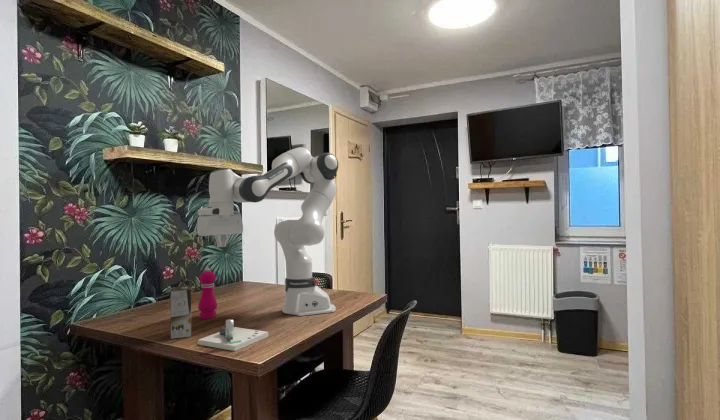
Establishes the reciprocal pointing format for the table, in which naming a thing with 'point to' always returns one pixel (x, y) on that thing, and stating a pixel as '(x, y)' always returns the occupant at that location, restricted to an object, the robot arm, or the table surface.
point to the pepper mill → (207, 295)
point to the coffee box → (180, 312)
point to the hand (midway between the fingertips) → (221, 246)
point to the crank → (228, 330)
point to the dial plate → (234, 339)
